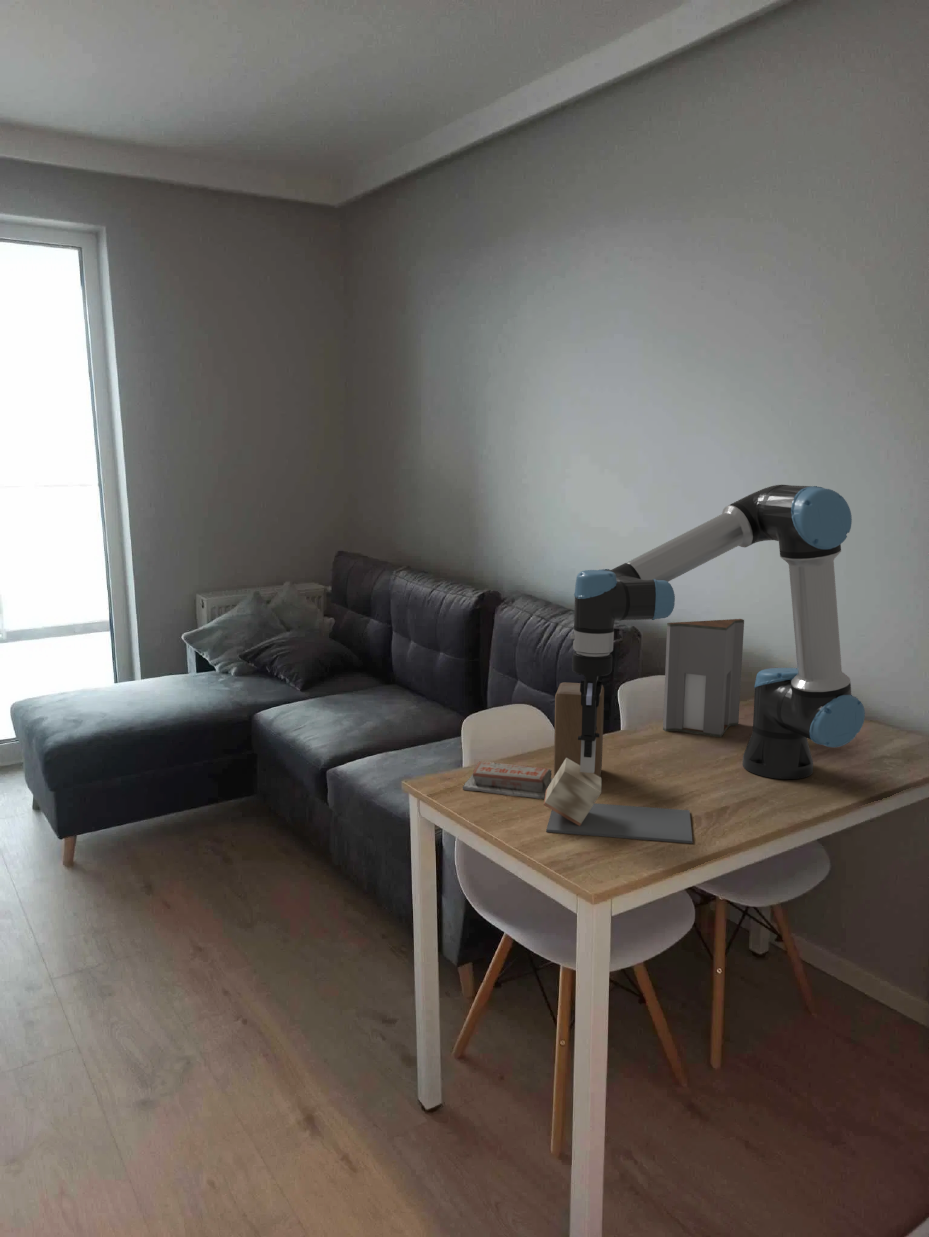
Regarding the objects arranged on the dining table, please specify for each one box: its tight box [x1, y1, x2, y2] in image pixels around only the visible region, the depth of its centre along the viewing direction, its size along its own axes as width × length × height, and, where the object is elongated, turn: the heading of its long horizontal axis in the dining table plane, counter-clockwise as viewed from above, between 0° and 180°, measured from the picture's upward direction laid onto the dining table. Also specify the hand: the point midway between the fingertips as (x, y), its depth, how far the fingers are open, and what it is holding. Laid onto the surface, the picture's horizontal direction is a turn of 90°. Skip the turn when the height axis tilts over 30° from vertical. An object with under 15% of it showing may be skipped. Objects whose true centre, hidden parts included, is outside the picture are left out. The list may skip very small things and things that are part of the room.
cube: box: [543, 758, 602, 826], centre depth 184 cm, size 8×8×8 cm
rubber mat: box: [545, 802, 693, 844], centre depth 184 cm, size 27×15×1 cm, turn 79°
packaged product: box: [462, 760, 553, 800], centre depth 202 cm, size 18×5×10 cm
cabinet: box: [662, 618, 745, 738], centre depth 238 cm, size 21×10×28 cm, turn 106°
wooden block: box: [553, 681, 605, 777], centre depth 208 cm, size 10×10×20 cm
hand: (587, 771), depth 183 cm, fingers closed
